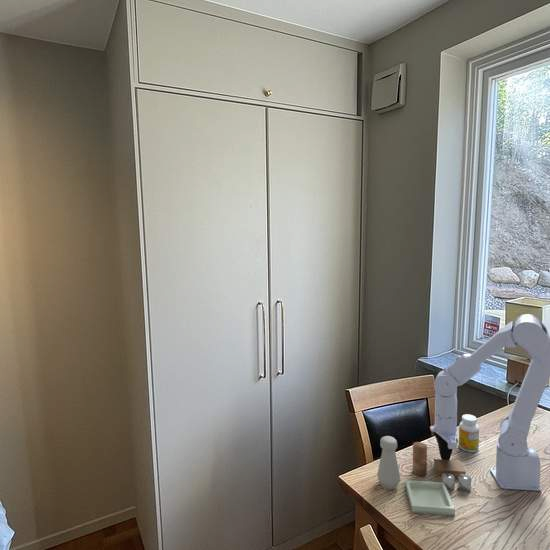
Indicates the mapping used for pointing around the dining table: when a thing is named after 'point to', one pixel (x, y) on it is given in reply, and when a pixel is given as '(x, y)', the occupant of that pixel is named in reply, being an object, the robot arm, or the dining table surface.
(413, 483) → the tray
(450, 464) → the wooden block
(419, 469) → the dowel
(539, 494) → the dining table surface
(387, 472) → the salt shaker
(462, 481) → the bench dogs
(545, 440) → the dining table surface
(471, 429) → the supplement bottle
